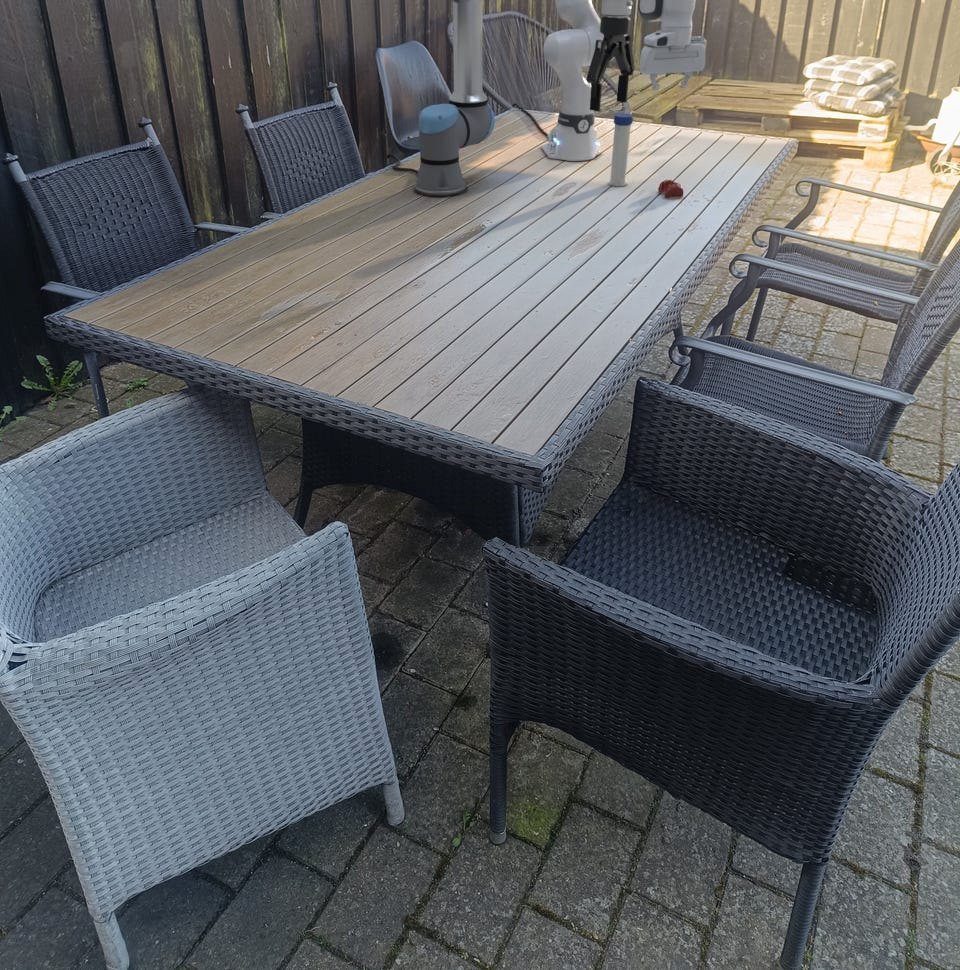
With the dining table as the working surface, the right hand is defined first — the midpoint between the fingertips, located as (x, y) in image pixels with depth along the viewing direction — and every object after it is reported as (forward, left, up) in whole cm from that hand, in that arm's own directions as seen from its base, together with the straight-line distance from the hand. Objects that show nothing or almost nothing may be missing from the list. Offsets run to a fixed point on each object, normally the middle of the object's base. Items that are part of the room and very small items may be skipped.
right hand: (669, 89), depth 252 cm
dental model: (+16, -5, -26) cm, 31 cm away
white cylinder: (+1, -15, -26) cm, 30 cm away
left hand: (+23, -31, +2) cm, 39 cm away
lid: (+1, -15, -7) cm, 16 cm away
